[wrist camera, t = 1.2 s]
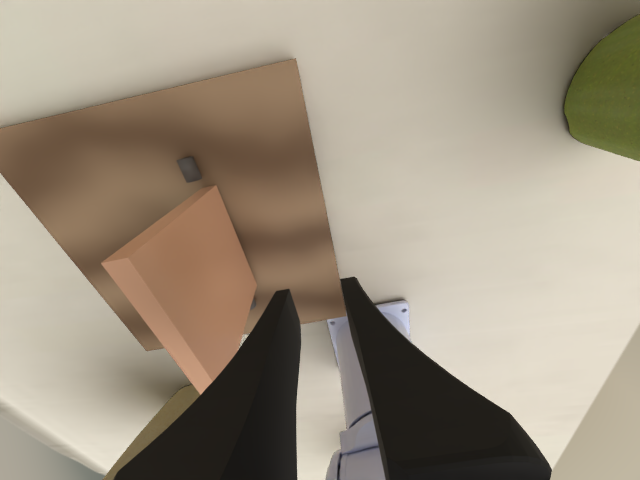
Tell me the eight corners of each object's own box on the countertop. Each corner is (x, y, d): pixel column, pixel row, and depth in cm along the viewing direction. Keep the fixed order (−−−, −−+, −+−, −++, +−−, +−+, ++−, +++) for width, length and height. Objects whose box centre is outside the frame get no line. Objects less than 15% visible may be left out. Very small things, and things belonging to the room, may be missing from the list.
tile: (257, 285, 20) (224, 398, 12) (243, 287, 20) (201, 401, 12) (216, 184, 16) (128, 257, 8) (198, 188, 16) (95, 264, 8)
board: (345, 308, 24) (348, 324, 22) (152, 342, 25) (140, 360, 23) (296, 61, 14) (294, 54, 13) (-11, 134, 15) (-52, 137, 14)
